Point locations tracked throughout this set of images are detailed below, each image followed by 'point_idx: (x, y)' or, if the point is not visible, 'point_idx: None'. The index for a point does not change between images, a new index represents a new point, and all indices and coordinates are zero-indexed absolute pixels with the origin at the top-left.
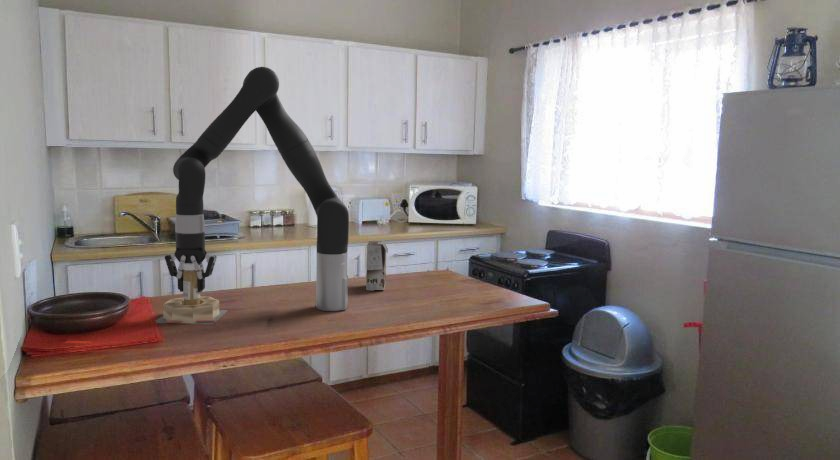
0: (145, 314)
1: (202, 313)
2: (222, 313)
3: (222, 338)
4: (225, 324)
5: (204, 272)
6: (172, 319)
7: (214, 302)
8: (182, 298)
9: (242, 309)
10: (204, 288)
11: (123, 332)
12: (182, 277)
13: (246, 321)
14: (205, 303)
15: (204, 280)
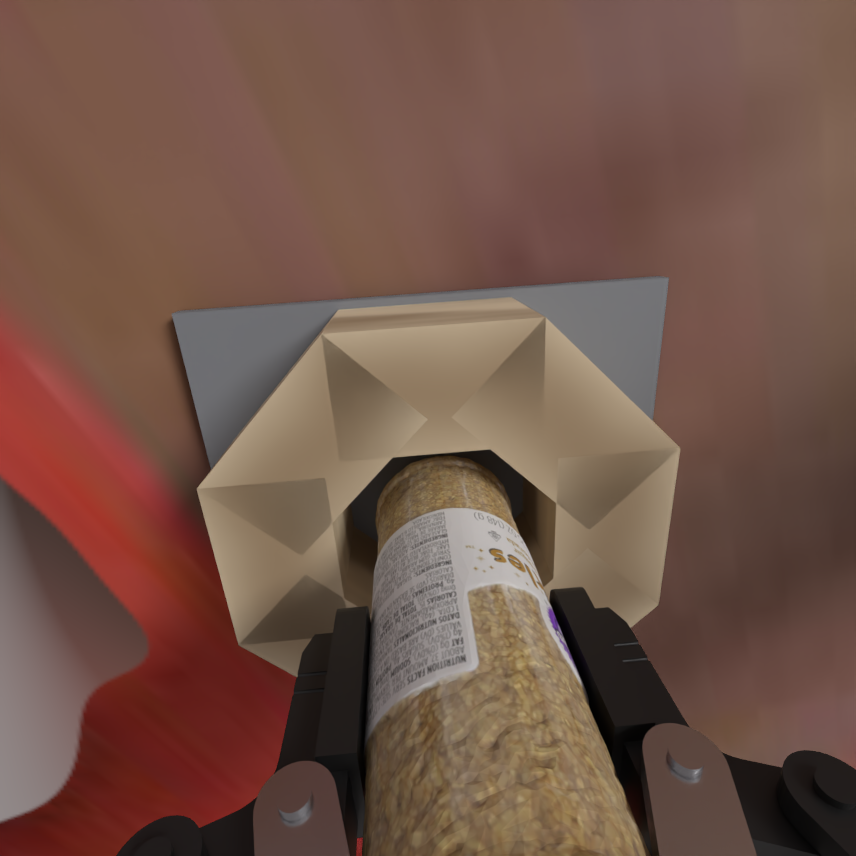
0: (34, 442)
1: None
2: (641, 381)
3: (716, 744)
4: (693, 559)
5: (743, 821)
6: None
7: (652, 521)
8: (291, 442)
9: (769, 148)
10: (614, 616)
11: (196, 759)
12: (354, 825)
13: (819, 481)
14: (583, 565)
15: (672, 716)
